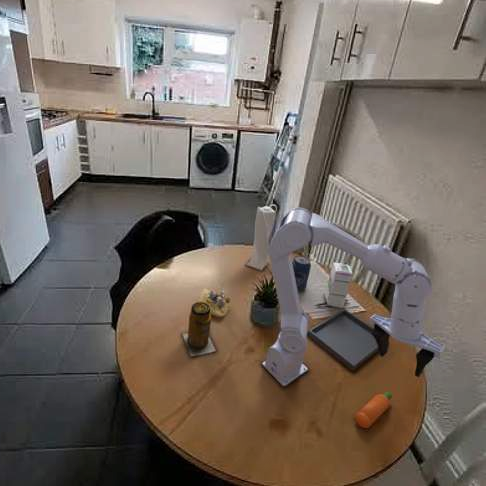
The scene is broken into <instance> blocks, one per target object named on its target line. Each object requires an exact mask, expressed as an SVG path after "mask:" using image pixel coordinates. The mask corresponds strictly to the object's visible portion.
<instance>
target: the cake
mask: <svg viewBox="0 0 486 486" xmlns="http://www.w3.org/2000/svg"><path fill="white" fill-rule="evenodd" d="M216 275H218V274H216ZM224 283H225V281H224V280H223V282H222V285H221V288H220V291H219V292H215V291H212V290H210V289H208V288H202V291H201V293H200V295H199V297H198V300H197V302H205V303H207V304H208V305H209V306H210V315H211V316H215V317H220V318H222V317H225V316H226V315H227V313H228V311H229V309H230V308H231V305H232V301H231V298H230V297H228V295H224V294H225V292H226V289H224V287H223V286H224Z"/></svg>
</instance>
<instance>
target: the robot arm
mask: <svg viewBox="0 0 486 486" xmlns="http://www.w3.org/2000/svg"><path fill="white" fill-rule="evenodd" d="M310 242H311V243H310ZM308 244H310V246H311V247H316V246H318V245H319V246H320V245H323V244H328V245H329V246H331V247H334V248H335V249H338V250H340V251H342V252H344V253H346V254H348V255H350V256H352V257H354V258H357V259H359V260H360V263H361V264H360V265H361V266H362V268H364V269H366V270H367V271H369V272H371V273H373V274H374V275H377V276H379V277H380V278H382V279H384V280H386V281H387V282H389V283H391V284H394V285H395V288H394V292H393V299H392V308H391V316H390V318H387V317H384V316H381V315H378V314H376V313H374V314H373V315H371V316H370V317H369V325H370V326H372V327H373V329H372V331H371V332H372V335H373V336H374V338H375V340H376V342H377V345H378V348H379V350H378V352H379V356H380V357H382V358H383V357H384V356H386V354H388V350H389V342H390V337H392V338H393V339H394V340H396V341H398V342H400V343H402V344H407V345H409V346H413V347H416V348H419V349H420V350H419V351H418V352H417V353H416V354H415V359H416V366H415V370H414V377H416V378H420V377H421V375H422V374H423V372H424V370H425V368H426V366H427V365H429V363H431V362H432V360H433V359H434V358H436V359H438V360H440V359H442V357H443V356H444V353H445V347H446V346H443V345H441V344H439V343H438V342H436V341H434V340H433V339H432V338H430V337H429V336H428V335H427V334H425V333H424V332H422V327H423V326H422V325H423V320H424V315H425V314H424V313H425V306H426V298H427V296H429V295H430V294H431V293H432V292H433V289H434V286H432V281H431V279H430V277H429V275H428V273H427V271H426V269H425V267H424V266H423V264H421V263H420V262H419V261H418V260H417V259H415V258H409V257H406V258H405V257H402V256H401V255H399V254H396V253H395V252H393V251H392V250H391V248H390V247H389V246H388V245H386V244H384V245H379V244H378V243H373V244H372V243H371V244H366V243H364V242H363V241H361V240H359V239H358V238H357V237H355V236H353V235H352V234H349V233H348V232H346V231H345V230H342V229H341V228H340V227H338V226H335V225H334V224H332V223H331V222H330V221H328V220H326V219H325V218H323V217H322V216H320V215H319V214H317V213H315V212H310V211H309V210H308V209H306V208H304V207H294V208H292V209H290V210H289V211H288V212H287V213H286V214H285V215H284V216H283V217H282V218H281V220H280V222H279V224H278V227H277V228H276V230H275V232H274V234H273V236H272V238H271V239H270V242H269V247H268V259H269V264H270V268H271V272H272V277H273V283H274V287H275V291H276V296H277V302H278V305H279V309H280V330H281V331H280V332H279V333H278V336H277V339H276V341H275V343H274V344H272V345H271V346H269V348H268V349H267V351H266V358H265V360H264V361H263V362H262V366H263V367H264V368H265V370H267V371H268V373H270V374H271V375H272V376H273V377H274V378H275V379H276V381H277V382H278V383H279V384H280V385H281V386H283V387H286V386H287V385H289V384H290V383H291V382H293V381H294V380H296V379H297V378H299V377H300V376H302V375H303V374H305V373H306V372H307V371H308V370H309V369H308V367H307V366H306V365H305V364H304V363H303V362H304V357H305V354H306V350H307V346H308V341H307V339H308V335H307V334H308V330H309V326H310V325H309V324H310V319H309V316H308V315H307V314H306V312H305V310H304V306H303V305H301V301H300V297H299V291H297V286H296V281H295V276H294V270H293V265H292V260H293V259H292V255H291V254H292V253H294V252H295V251H298V250H300V249H303V248H305V247H306V246H308Z"/></svg>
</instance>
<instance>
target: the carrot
mask: <svg viewBox="0 0 486 486" xmlns="http://www.w3.org/2000/svg"><path fill="white" fill-rule="evenodd" d="M392 398H393V394H392V393H391V392H390V391H385V392H383V394H382V393H377V394H375V395H374V397H373V398H372V399H370V400H369V401H368V402H367V403H366V404H365V405H364V406H363V407H361V409H359V411H358V412H357V413H356V415H355V421H356V423H357V424H358V426H359V427H361V428H363V429H369V428H370V427H371V426H372V425H373V424H374V423H375V422H376V421H377V420H378V419H379V418H380V417H381V416H382V415H383V414H384V412H386V410H387V409H389V407H390V400H391V399H392Z"/></svg>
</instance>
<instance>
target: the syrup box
mask: <svg viewBox="0 0 486 486" xmlns="http://www.w3.org/2000/svg"><path fill="white" fill-rule="evenodd" d="M352 278H353V270H352V268H351V265H350V264H347V263H344V262H343V263H341V262H333V263H332V267H331V269H330V274H329V279H328V282H327V286H326V290H325V294H324V298H325V301H326V305H327V306H330V307H333V308H339V309H344V306H345V303H346V299H347V296H348V293H349V289H350V285H351V281H352Z"/></svg>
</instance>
